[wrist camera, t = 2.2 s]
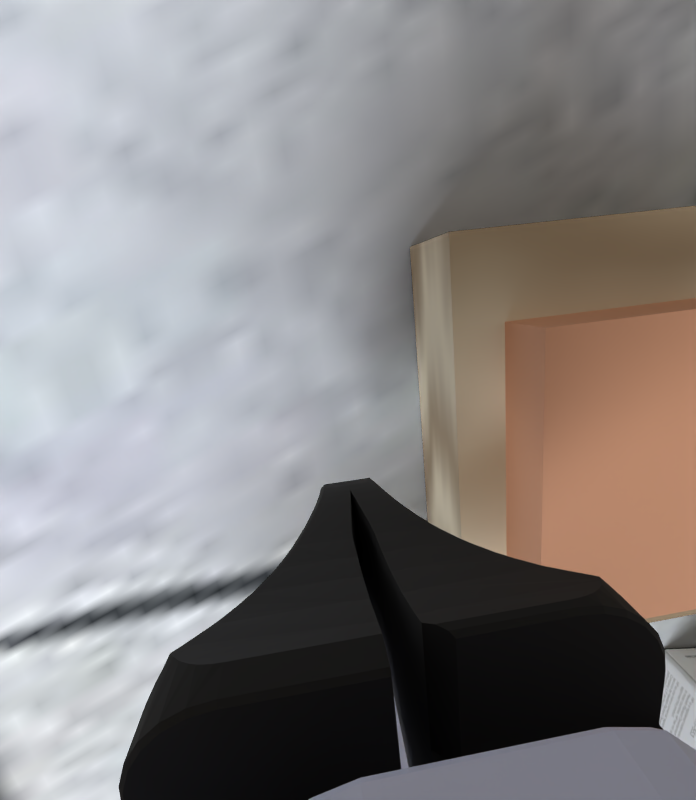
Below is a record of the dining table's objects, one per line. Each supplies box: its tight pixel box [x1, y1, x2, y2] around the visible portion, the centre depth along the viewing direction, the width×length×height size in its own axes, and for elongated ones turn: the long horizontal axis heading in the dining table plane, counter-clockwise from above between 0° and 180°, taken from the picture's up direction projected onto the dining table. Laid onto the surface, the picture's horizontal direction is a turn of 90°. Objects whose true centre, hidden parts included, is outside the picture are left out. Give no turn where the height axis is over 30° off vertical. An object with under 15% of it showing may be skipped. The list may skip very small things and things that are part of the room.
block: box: [505, 298, 696, 619], centre depth 12 cm, size 9×6×2 cm, turn 6°
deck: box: [410, 206, 696, 623], centre depth 15 cm, size 14×10×4 cm
